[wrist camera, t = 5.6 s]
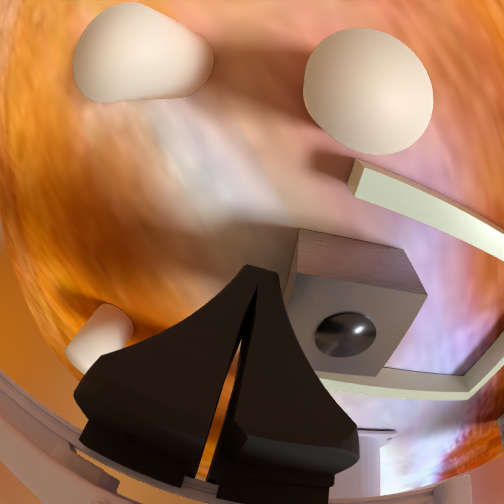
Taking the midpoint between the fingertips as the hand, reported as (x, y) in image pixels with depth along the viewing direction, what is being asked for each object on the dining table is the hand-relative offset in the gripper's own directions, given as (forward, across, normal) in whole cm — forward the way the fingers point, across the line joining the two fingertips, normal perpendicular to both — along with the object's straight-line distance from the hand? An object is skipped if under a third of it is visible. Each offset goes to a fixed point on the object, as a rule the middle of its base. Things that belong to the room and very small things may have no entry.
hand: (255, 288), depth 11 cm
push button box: (+1, -3, 0) cm, 4 cm away
